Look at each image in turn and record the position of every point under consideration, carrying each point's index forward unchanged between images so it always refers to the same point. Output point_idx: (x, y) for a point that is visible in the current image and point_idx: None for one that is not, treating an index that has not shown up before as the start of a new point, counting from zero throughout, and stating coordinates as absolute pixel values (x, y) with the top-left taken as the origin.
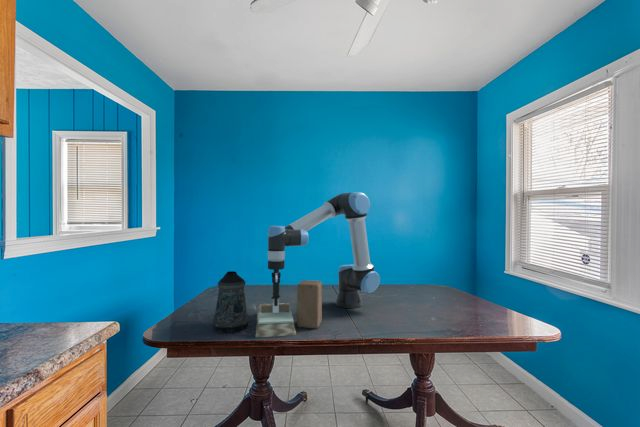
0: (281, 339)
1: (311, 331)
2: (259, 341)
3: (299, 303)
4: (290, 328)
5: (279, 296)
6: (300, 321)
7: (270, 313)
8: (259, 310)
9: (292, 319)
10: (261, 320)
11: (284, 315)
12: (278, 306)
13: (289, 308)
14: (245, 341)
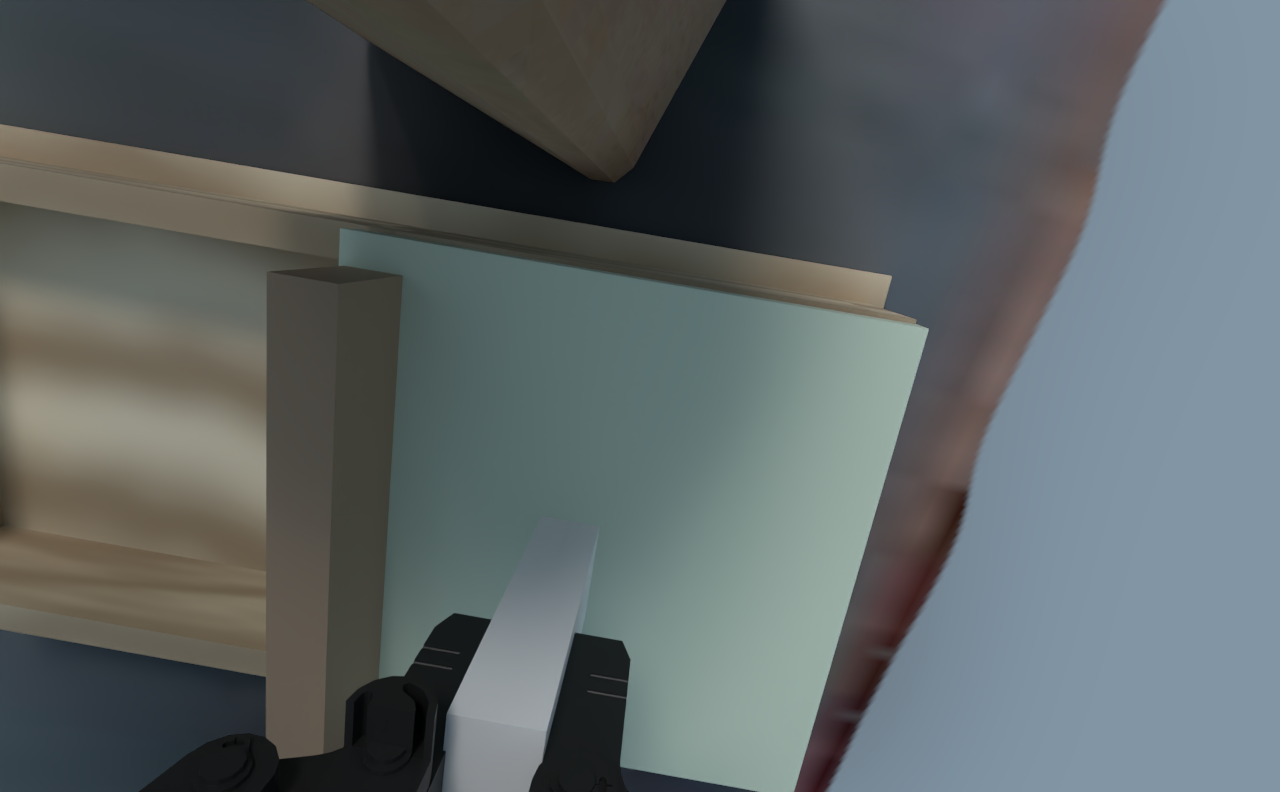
0: (930, 466)
1: (831, 24)
2: (884, 671)
3: (599, 69)
4: None
5: (436, 718)
6: (646, 131)
7: (444, 589)
8: (173, 657)
9: (863, 332)
10: (729, 753)
11: (606, 409)
12: (582, 595)
13: (109, 190)
14: (830, 776)
